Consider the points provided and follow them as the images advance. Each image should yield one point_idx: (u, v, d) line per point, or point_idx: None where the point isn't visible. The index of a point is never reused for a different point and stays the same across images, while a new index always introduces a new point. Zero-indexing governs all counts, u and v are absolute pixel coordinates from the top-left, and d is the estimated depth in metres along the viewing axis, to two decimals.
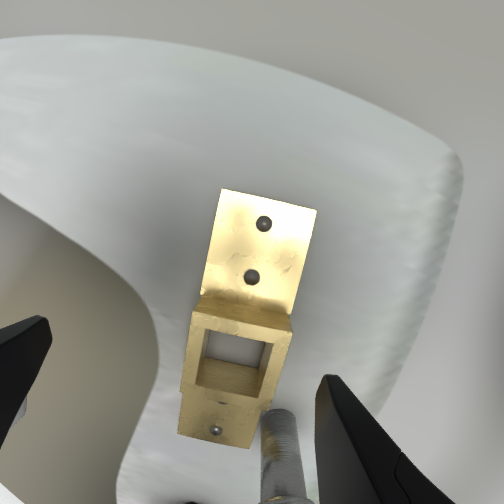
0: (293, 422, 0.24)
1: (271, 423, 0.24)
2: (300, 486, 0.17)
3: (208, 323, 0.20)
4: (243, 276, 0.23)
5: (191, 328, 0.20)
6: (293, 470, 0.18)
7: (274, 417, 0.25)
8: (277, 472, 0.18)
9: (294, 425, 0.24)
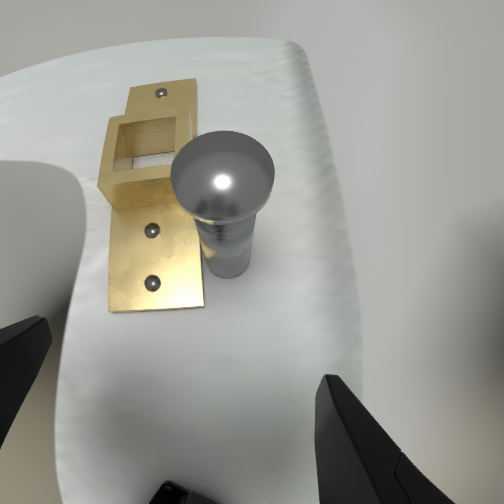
0: None
1: None
2: None
3: (121, 120, 0.22)
4: None
5: (108, 128, 0.21)
6: None
7: None
8: None
9: None
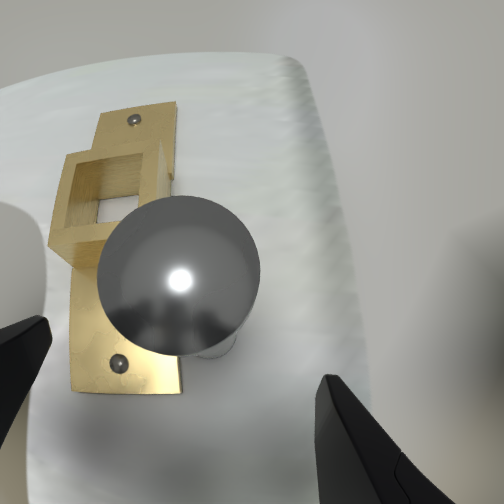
0: None
1: None
2: None
3: (79, 158, 0.17)
4: None
5: (64, 169, 0.17)
6: None
7: None
8: None
9: None
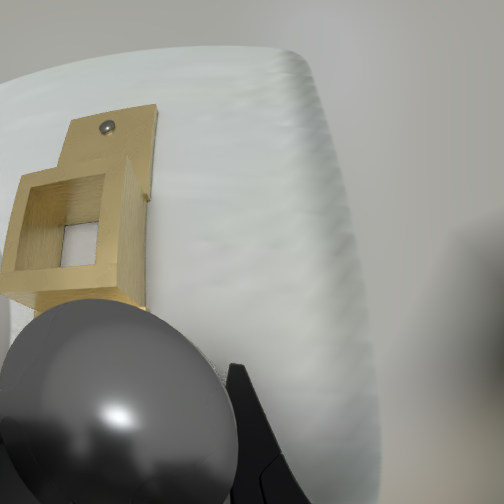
0: None
1: None
2: None
3: (34, 180, 0.13)
4: None
5: (17, 194, 0.13)
6: None
7: None
8: None
9: None
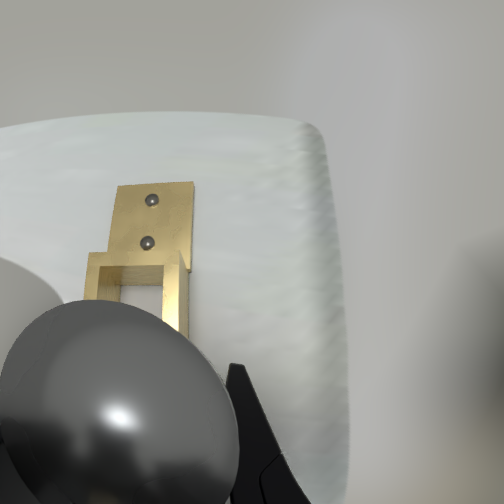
0: None
1: None
2: None
3: (102, 260, 0.20)
4: (140, 245, 0.24)
5: (88, 269, 0.19)
6: None
7: None
8: None
9: None
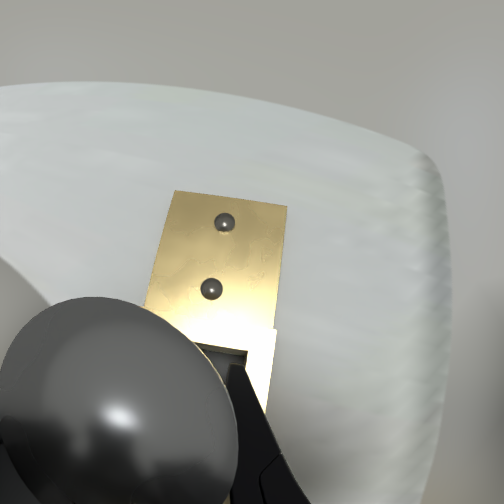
0: None
1: None
2: None
3: None
4: (200, 289, 0.17)
5: None
6: None
7: None
8: None
9: None
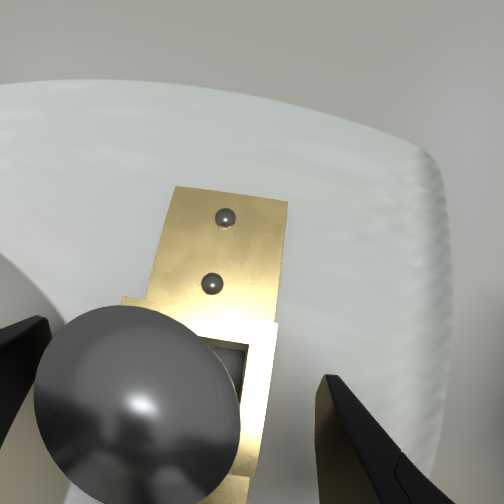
0: None
1: None
2: None
3: None
4: (201, 284, 0.17)
5: None
6: None
7: None
8: None
9: None
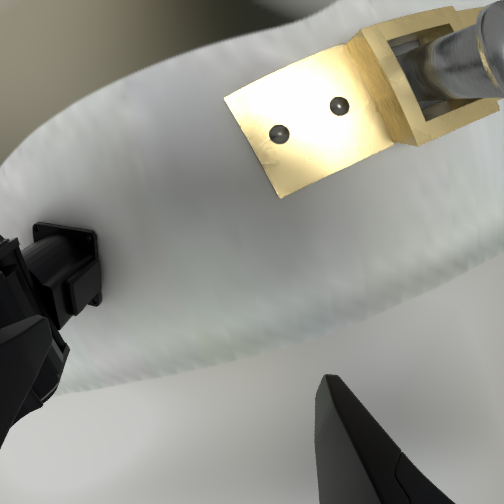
0: None
1: None
2: None
3: (455, 24, 0.11)
4: None
5: (438, 10, 0.10)
6: None
7: None
8: None
9: None
